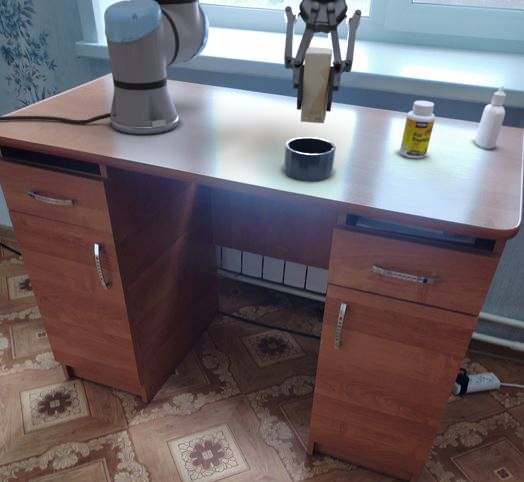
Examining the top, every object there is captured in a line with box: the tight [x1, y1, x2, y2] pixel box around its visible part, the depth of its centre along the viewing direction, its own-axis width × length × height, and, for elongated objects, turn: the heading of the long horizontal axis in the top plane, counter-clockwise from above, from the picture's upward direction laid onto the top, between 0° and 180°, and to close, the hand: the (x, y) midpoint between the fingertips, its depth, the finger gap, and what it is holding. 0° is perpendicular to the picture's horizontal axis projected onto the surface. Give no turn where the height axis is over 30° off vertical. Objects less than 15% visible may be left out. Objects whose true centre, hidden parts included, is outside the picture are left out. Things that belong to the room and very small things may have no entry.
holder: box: [283, 136, 336, 182], centre depth 97 cm, size 9×9×5 cm
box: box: [300, 46, 332, 124], centre depth 89 cm, size 5×4×11 cm
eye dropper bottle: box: [474, 85, 507, 150], centre depth 109 cm, size 4×6×12 cm
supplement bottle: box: [399, 100, 436, 159], centre depth 104 cm, size 6×6×10 cm
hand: (314, 106), depth 87 cm, fingers closed on box, 4 cm apart
